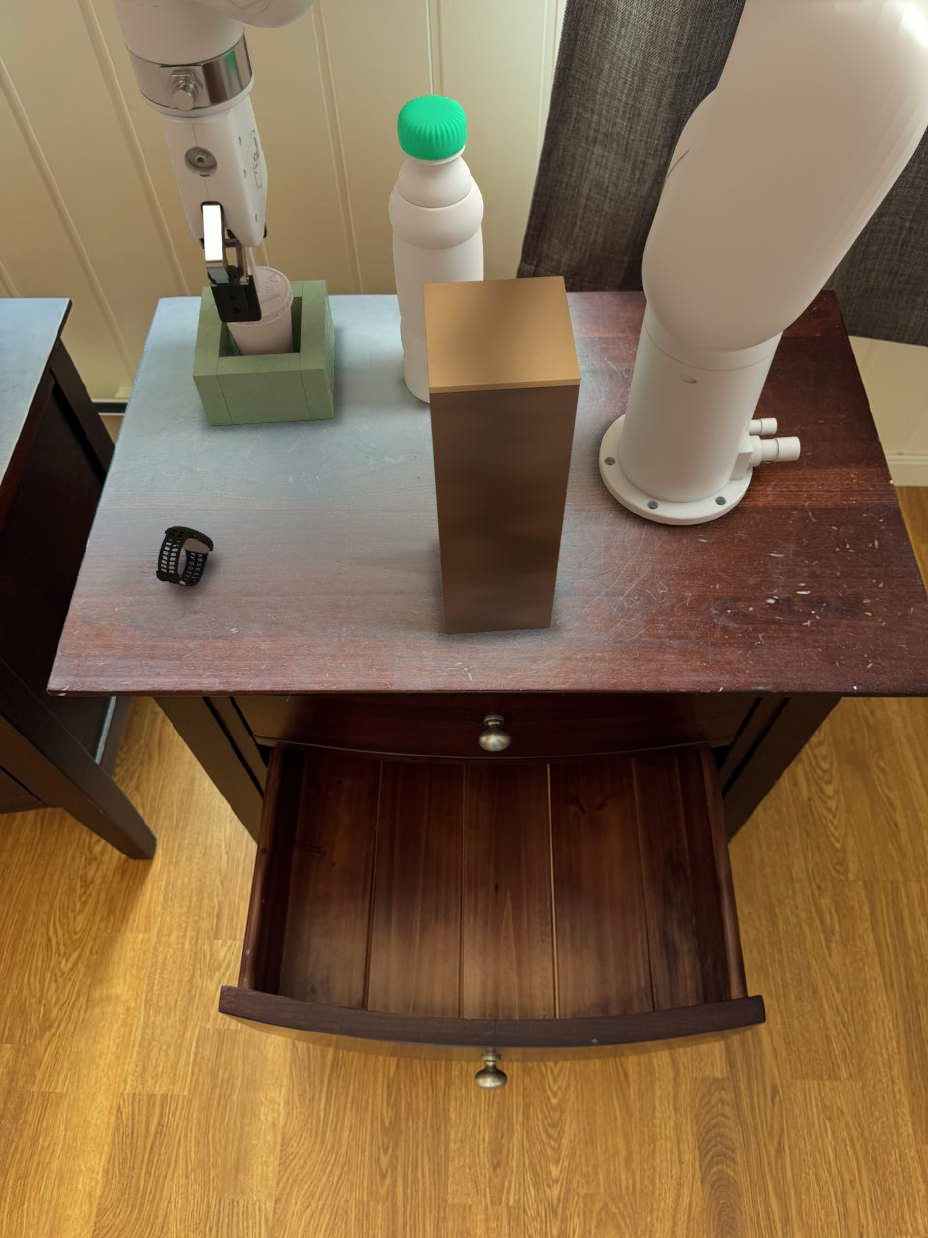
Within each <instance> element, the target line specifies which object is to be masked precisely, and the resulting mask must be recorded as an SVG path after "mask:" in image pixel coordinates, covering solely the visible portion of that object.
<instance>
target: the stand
mask: <svg viewBox="0 0 928 1238" xmlns="http://www.w3.org/2000/svg"><path fill="white" fill-rule="evenodd" d="M289 282H290V286H291V289H292V292H293V301H292V305H291V307H290V309H291V324H292V339H293V350H299V351H300V352H293V353H284V354H267V355H250V356H242V355H240V353H241V352H240V350H239V348H238V346H237V344H236V342H235V340H234V338H233V335H232V333H231V331H230V329H229V327H228V325H227V323H224V322H222V321H221V320H220V318H219V314H218V312H217V310H216V304H215V300H214V297H213V294H212V290H211V287H210V285H206V286H202V288H201V297H200V305H199V314H198V324H197V332H196V341H195V349H194V356H193V358H194V359H193V367H192V379H193V382H194V384H195V387H196V391H197V393H198V395H199V396H198V397H199V398H200V401H201V404H202V406H203V409H204V412H205V415H206V419H207V420H208V423H209V427H213V426H229V425H245V424H247V425H248V424H263V423H281V422H297V421H310V420H311V421H314V420H315V421H316V420H331V419H335V326H334V321H333V315H332V309H331V304H330V299H329V292H328V287H327V281H326V279H314V280H313V279H312V280H296V281H295V280H293V281H289Z"/></svg>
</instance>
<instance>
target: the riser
mask: <svg viewBox="0 0 928 1238" xmlns="http://www.w3.org/2000/svg"><path fill="white" fill-rule="evenodd" d="M566 290H567V289H566V283H565V278H564V276H563V275H557V276H556V275H554V276H539V277H538V276H536V277H519V278H518V277H517V278H503V279H501V278H500V279H485V280H484V279H483V280H482V281H465V282H447V283H429V284H423V300H424V317H425V334H426V350H427V367H428V384H429V399H430V403H429V411H430V426H431V427H430V428H431V439H432V440H431V442H432V457H433V470H434V487H435V500H436V502H435V503H436V513H437V515H436V516H437V517H436V518H437V530H438V544H439V545H438V546H439V559H440V576H441V589H442V590H441V591H442V606H443V619H444V621H443V622H444V634H463V633H477V632H495V631H509V630H511V631H512V630H525V629H527V630H528V629H541V628H542V629H544V628H550V627H551V625H552V617H553V609H554V603H555V601H554V600H555V592H556V585H557V577H558V576H557V575H558V568H559V561H560V553H561V545H562V544H561V543H562V535H563V526H564V519H565V511H566V504H567V503H566V502H567V494H568V486H569V479H570V470H571V462H572V455H573V447H574V446H573V445H574V438H575V429H576V421H577V413H578V404H579V397H580V387H581V381H582V376H581V371H580V367H579V366H580V365H579V359H578V354H577V347H576V342H575V341H576V340H575V335H574V331H573V324H572V318H571V313H570V307H569V301H568V295H567V291H566Z"/></svg>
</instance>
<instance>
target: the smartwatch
mask: <svg viewBox="0 0 928 1238" xmlns="http://www.w3.org/2000/svg"><path fill="white" fill-rule="evenodd" d="M164 534H165V535H164V538H163V540H162V543H161V545H160V547H159V553H158V558H157V570H156V571H155V576H156V579H157V580H158V581H160V582H166V583H167V582H168V583H170V584H173V585H178V586H183V587H189V588H191V587H195V586H196V585H198V583H200V580H201V579H202V576H203V573H204V571H205V568H206V565H207V560H208V557H209V554H210V553H212V552H213V551H214V547H215V545H214V542H213V540H212V538H211V537H209V536H208V535H207V534H205V533H203V532H202V531H199V530H197V529H194V528H191V527H189V526H188V527H187V526H182V525H174V526H171V527H168V528H166V529H165V531H164ZM182 550H184V551H185V552H184V553H185V564H184V568H183V570H182V572H181V575H180V573H179V565H180V559H181V558H180V557H181V552H182ZM165 552H166V553H167V554H166V553H165ZM173 554H174V555H173ZM164 557H165V558H164ZM171 563H173V564H171ZM191 563H193V564H191ZM171 567H172V568H171ZM189 567H190V568H189Z"/></svg>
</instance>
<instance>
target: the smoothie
mask: <svg viewBox="0 0 928 1238" xmlns="http://www.w3.org/2000/svg"><path fill="white" fill-rule="evenodd" d="M245 250H246V259H247V268H248V275H253V278H254V282H255V287H256V291H257V295H258V299H259V303H260V308H261V312H262V318H261V320H260V321H254V322H233V323H227V325H228V327H229V329H230V331H231V333H232V335H233V338H234V340H235V342H236V344H237V346H238V348H239V350H240V352H239V353H240V354H241V355H240V356H250V355H267V354H284V353H294V349H293V339H292V324H291V309H290V307H291V305H292V301H293V292H292V289H291V286H290V282H291V281H290V280H289V278H288V277H287V275H285V274H284V273H282V271H279V269H275V268H273V267H270V266H269V267H268V266H265V265H264V266H262V265H257V264H256V261H255V257H254V253H253V249H252V247H245ZM216 310H217V307H216ZM217 312H218V311H217Z"/></svg>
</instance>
